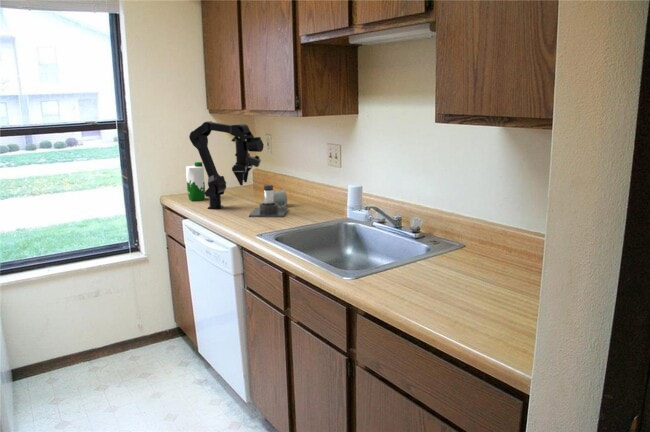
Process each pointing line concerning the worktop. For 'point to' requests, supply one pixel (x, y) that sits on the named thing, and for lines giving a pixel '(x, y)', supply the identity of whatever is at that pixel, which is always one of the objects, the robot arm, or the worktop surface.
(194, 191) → the milk carton
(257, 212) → the firebox collar
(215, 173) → the robot arm
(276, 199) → the ceramic mug
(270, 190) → the black capped shaker
